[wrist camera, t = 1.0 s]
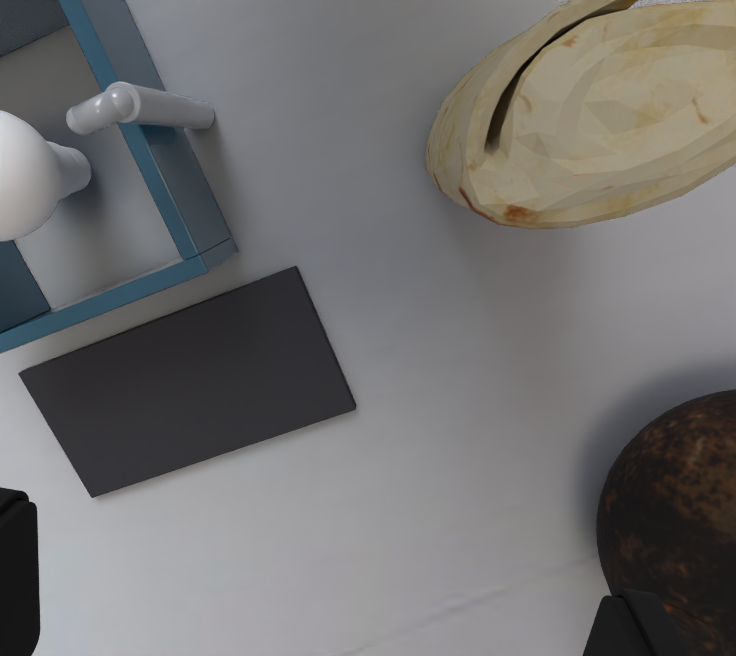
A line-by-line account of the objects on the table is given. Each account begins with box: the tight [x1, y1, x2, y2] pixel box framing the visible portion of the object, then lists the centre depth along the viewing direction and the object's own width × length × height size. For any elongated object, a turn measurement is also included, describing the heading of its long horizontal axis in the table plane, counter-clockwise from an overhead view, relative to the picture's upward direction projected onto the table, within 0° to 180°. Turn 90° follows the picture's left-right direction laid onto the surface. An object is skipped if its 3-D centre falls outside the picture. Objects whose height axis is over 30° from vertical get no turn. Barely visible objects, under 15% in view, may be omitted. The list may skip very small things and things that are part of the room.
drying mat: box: [19, 266, 356, 498], centre depth 38 cm, size 10×20×1 cm, turn 111°
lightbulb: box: [0, 110, 91, 241], centre depth 30 cm, size 6×6×11 cm
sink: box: [0, 0, 238, 354], centre depth 30 cm, size 16×16×11 cm
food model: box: [425, 0, 736, 229], centre depth 23 cm, size 10×7×20 cm
